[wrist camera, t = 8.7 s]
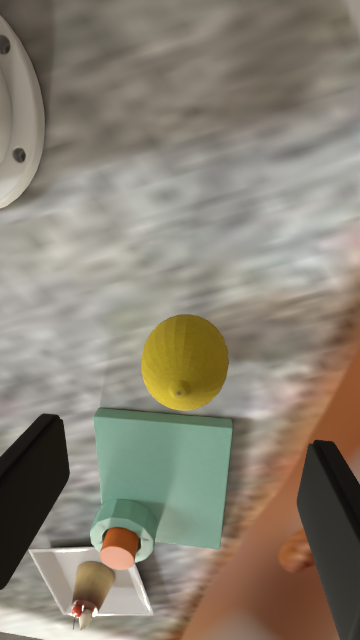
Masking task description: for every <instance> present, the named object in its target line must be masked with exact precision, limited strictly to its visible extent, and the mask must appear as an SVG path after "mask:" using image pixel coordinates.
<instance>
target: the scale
mask: <svg viewBox="0 0 360 640" xmlns="http://www.w3.org/2000/svg"><path fill="white" fill-rule="evenodd" d="M94 427H95V438H96V448H97V458H98V469H99V479H100V490H101V500H102V507H101V508H100V510H99V511H98V512H97V514H96V517H95V519H94V522H93V525H92V527H91V530H90V537H91V543H92V545H93V546H94V547H95V548H96V549H97V550H98V552H99V553H100V551H101V548H102V545H103V542H104V539H105V536H106V533H107V531H108V530H109V529H110V528H113V527H122V528H127V529H129V530H131V531H133V532H135V533H136V534H137V536H138V537H139V543H138V548H137V552H136V557H135V562H139V561H143V560H145V559H146V558H147V557H148V556H149V555H150V554H151V553H152V552H153V550H154V545H155V542H163V543H171V544H179V545H187V546H195V547H203V548H211V549H220V545H221V536H222V527H223V517H224V508H225V498H226V489H227V480H228V470H229V461H230V451H231V442H232V433H233V425H232V419H225V418H213V417H201V416H189V415H177V414H165V413H152V412H140V411H128V410H116V409H104V408H98V410H97V411H96V413H95V415H94ZM135 562H134V563H135Z"/></svg>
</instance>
